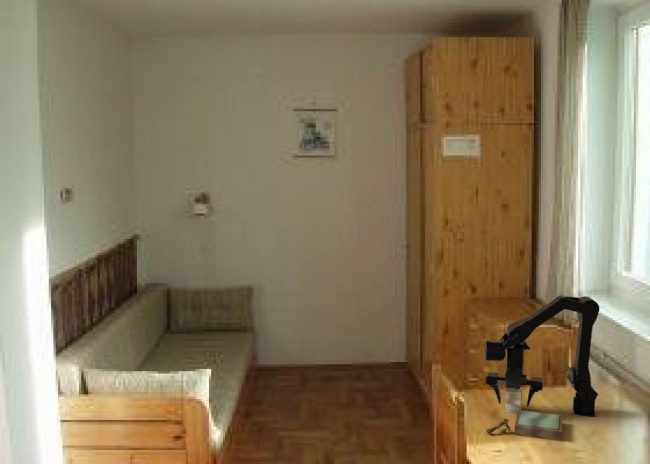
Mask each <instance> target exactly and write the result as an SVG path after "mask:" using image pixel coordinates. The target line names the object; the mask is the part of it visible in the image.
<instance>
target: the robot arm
mask: <svg viewBox="0 0 650 464" xmlns="http://www.w3.org/2000/svg"><path fill="white" fill-rule="evenodd" d="M565 310H566V311H572V312H575V313H576V315H577V320H578V330H577V331H578V332H577V339H576V340H577V341H576V347H575V348H576V349H575V350H576V351H575V357H574V359H575V360H574V364H573V366H572V367H571V366H567V367H568V368H567V370H568V373H567V376H566V379H568V382H569V384H570V385H571V387H572V388H573V390H574V392H575V395H574V396H573V400H572V410H573V413H574V415H579V416H586V417H595V416H596V400H597V398H598V395H599V394H598V392H597V391H596V390H595V389H594V387H593V386H592V380H591V379H592V376H591V373H590V368H589V365H590V364H589V363H590V354H591V347H592V346H591V345H592V338H593V337H592V336H593V329H594V328H593V327H594V325H595V323H596V321H597V319H598V316H599V312H600V305H599V303H598V302H597V301H596V300H594V299H593V298H591V297H590V296H588V295H587V296H586V295H585V296H582V297H576V296H565V295H558V296H556V297H555V299H553V300H551V301H550V302H549V303H547V304H546V305H544V306H542V307H541V308H539V309H538V310H536V311H535V312H533V313H532V314H531V315H529V316H528V317H526V318H522V319H519V320H516V321H513V322H512V323H510V324H509V325H508V326H507V327H506V329H505V333H504V334H502V336H501V338H500V339H499V341H498V340H496V341H495V340H489V339H488V340H485V344H484V348H483V358H484V361H486V362H491V361H492V362H503V360H505V359H506V360H505V361H506V362H505V367H506V368H505V374H504V376H500V373H499V372H490V371H489V372H487V374H486V376H485V385H487V386H488V385H489V387H490V388H492V389H493V390H494V392H495V395H496V398H497V401H498V404H499V405H501V401H502V400H501V399H502V396H501V395H502V394H501V383H503V384H505V388H506V389H507V388H508V389H510V388H512V389H517V390H518V389H521V387H524V386H525V387H526V386H529V391H528V396H527V401H526V407H527V408H529V406H530V403H531V401H532V398H533V396H534V395H535V393H538V392H539V391H543V388H544V378H543V377H538V376H531V378H530V379H529V378H528V375H527V374H524V370H525V369H524V367H525V366H524V365H525V364H524V363H525V351H526V350H527V351H528V350H531V347H530V345H529V344H527V341H526V340H528V338H530V336H531V335H532V334H533V332H534V331H535V330H536V329H537V328H539V327H540V326H542V325H543V324H544V323H546V322H548V321H549V320H550V319H552V318H553V317H555V316H557V315H558V314H559V313H561V312H563V311H565Z"/></svg>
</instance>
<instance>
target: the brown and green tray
mask: <svg viewBox="0 0 650 464" xmlns="http://www.w3.org/2000/svg"><path fill="white" fill-rule="evenodd" d="M513 435H514V436H521V437H527V438H528V437H529V438H535V439H542V440H548V441H549V440H550V441H557V442H558V441H559V442H562V439H563V436H562V435H563V415H562V414H555V413H546V412H539V411H532V410H531V411H530V410H522V409H521V410H518V413H517V414H516V419H515V423H514V433H513Z"/></svg>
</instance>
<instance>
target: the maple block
mask: <svg viewBox="0 0 650 464" xmlns="http://www.w3.org/2000/svg"><path fill="white" fill-rule="evenodd" d="M505 390H506V391H505V404H504V405H505V407H504V413H509V414H516V415H517V413H518V410H522V407H523V406H522V404H523V403H522V401H523V400H522V397H523V389H521V388H520V389H518V390H517V389H512V388H510V389H508V388H506V389H505Z"/></svg>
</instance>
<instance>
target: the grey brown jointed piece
mask: <svg viewBox="0 0 650 464" xmlns="http://www.w3.org/2000/svg"><path fill="white" fill-rule="evenodd" d="M509 421H510V419H509V418H504V419H503V420H502V421H501V422H499V423H496V425H494V426H493V427H490V428H485V430H486V433H487V434H488V435H489V436H492V433H493V432H495V431H496V430H499V428H501V427H503V426H504V427H506V428H502V429H500V430H499V431H500V432H499V433H500V434H504V433H506V432H507V431H508V432H511V431H512V430H511V427H510V425H509V424H508V423H509Z"/></svg>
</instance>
